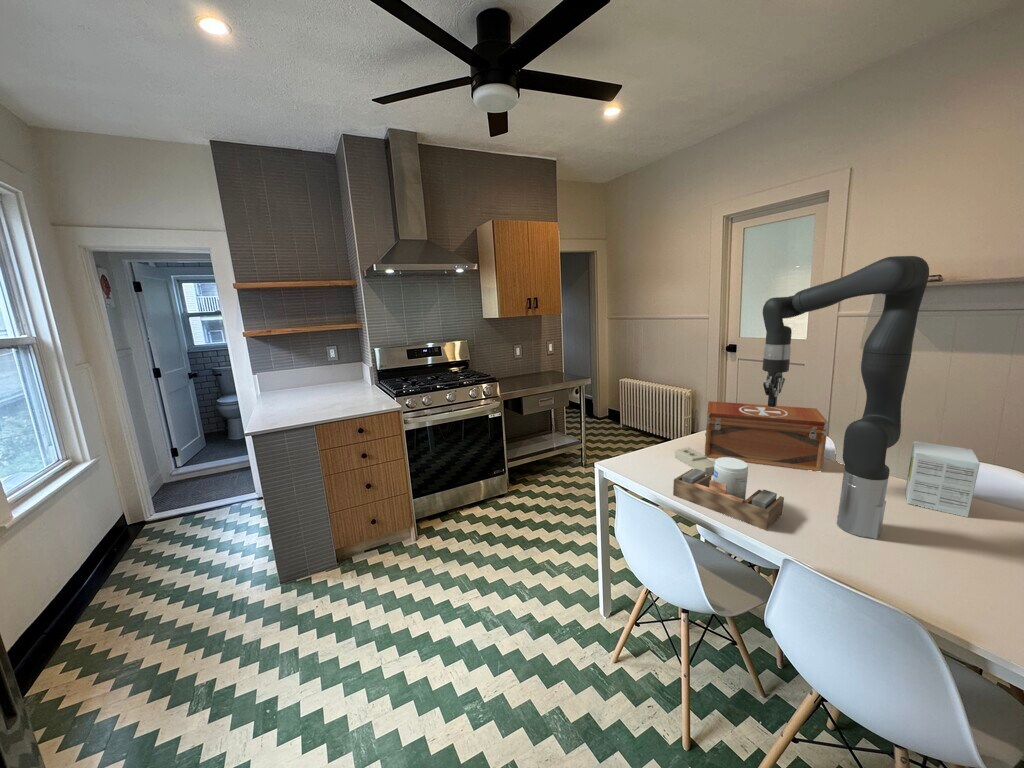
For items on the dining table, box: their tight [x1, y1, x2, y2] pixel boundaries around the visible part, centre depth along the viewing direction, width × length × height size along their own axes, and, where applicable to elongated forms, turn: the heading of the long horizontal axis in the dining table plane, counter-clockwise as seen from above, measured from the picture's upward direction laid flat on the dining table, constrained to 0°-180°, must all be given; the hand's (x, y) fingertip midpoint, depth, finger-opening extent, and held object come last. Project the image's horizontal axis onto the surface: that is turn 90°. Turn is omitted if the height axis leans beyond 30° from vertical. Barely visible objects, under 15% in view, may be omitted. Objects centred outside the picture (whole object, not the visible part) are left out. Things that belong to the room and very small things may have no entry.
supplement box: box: [905, 440, 981, 518], centre depth 121 cm, size 13×13×18 cm
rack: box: [672, 468, 785, 531], centre depth 127 cm, size 29×13×10 cm, turn 38°
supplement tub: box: [712, 457, 749, 501], centre depth 126 cm, size 10×10×15 cm
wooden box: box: [704, 400, 829, 473], centre depth 163 cm, size 20×41×20 cm, turn 62°
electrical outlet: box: [674, 447, 715, 476], centre depth 158 cm, size 7×4×18 cm
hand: (771, 406), depth 134 cm, fingers closed
